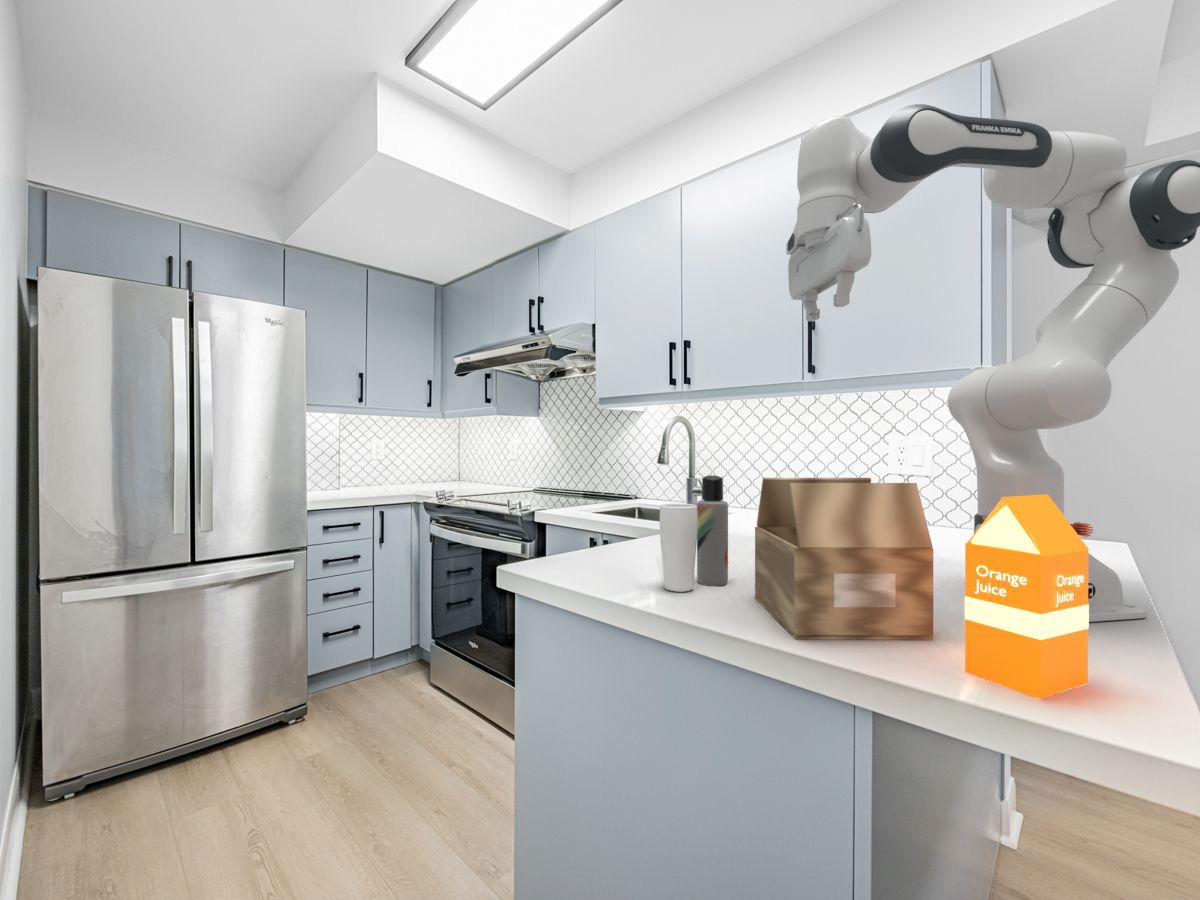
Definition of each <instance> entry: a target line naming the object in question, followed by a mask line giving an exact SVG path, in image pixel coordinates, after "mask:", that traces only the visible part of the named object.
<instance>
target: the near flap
mask: <svg viewBox="0 0 1200 900" xmlns="http://www.w3.org/2000/svg"><path fill="white" fill-rule="evenodd" d="M789 485H790V492H791V499H792V505H793V512H794V519H795V526H796V532H797V539H798V546H799V548H880V549H931V548H933V544H932V539H931V535H930V534H931V533H930V531H929V527H928V522H927V518H926V515H925V511H924V507H923V503H922V499H921V495H920V492H919V488H918V484H917V482H871V483H790V484H789ZM933 549H934V548H933Z"/></svg>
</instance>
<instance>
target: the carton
mask: <svg viewBox="0 0 1200 900" xmlns="http://www.w3.org/2000/svg"><path fill="white" fill-rule="evenodd" d="M754 599H755V600H756V601H757V602H758V603H759V604H760V605H761V606H762V607H763V608H764V609H765V610H766V611H767V612H768V613H769V614H770V615H771V616H772V617H773V618H774V619H775V621H777V622H778V623H779V624H780V625H781V626H782V627H783V628H784V629H785V631H787V632H788V634H790V635H791V636H792V637H793V638H794V639H795V640H829V641H830V640H837V641H838V640H842V641H843V640H845V641H846V640H853V641H855V640H857V641H858V640H859V641H860V640H861V641H862V640H865V641H867V640H869V641H871V640H872V641H873V640H874V641H875V640H876V641H879V640H880V641H881V640H882V641H885V640H889V641H890V640H891V641H895V640H898V641H906V640H907V641H911V640H912V641H933V640H934V548H931V549H880V548H799V546H798V539H797V532H796V527H757V526H755V527H754Z"/></svg>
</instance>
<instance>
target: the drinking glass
mask: <svg viewBox="0 0 1200 900" xmlns="http://www.w3.org/2000/svg"><path fill="white" fill-rule="evenodd" d="M697 532H698V510H697V504H691V503H663V504H660V505H659V535H660V536H659V537H660V549H661V559H662V570H663V571H662V576H663V587H664V589H665V590H667V591H669V590H670V592H673V591H674V593H687V592H689V591H693V590H694V587H695V586H694V585H695V582H694V581H695V578H694V577H695V565H696V557H697ZM686 591H687V592H686Z"/></svg>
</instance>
